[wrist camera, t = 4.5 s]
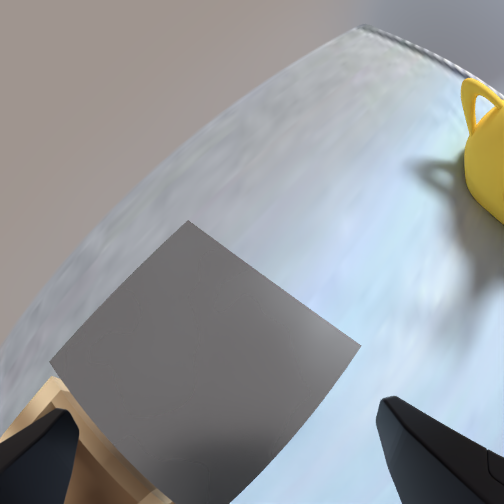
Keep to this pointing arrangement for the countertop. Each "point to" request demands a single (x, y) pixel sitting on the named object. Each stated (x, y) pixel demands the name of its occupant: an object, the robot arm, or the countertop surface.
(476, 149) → the teapot
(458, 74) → the countertop surface
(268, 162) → the countertop surface
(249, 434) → the post
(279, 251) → the countertop surface
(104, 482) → the dock
